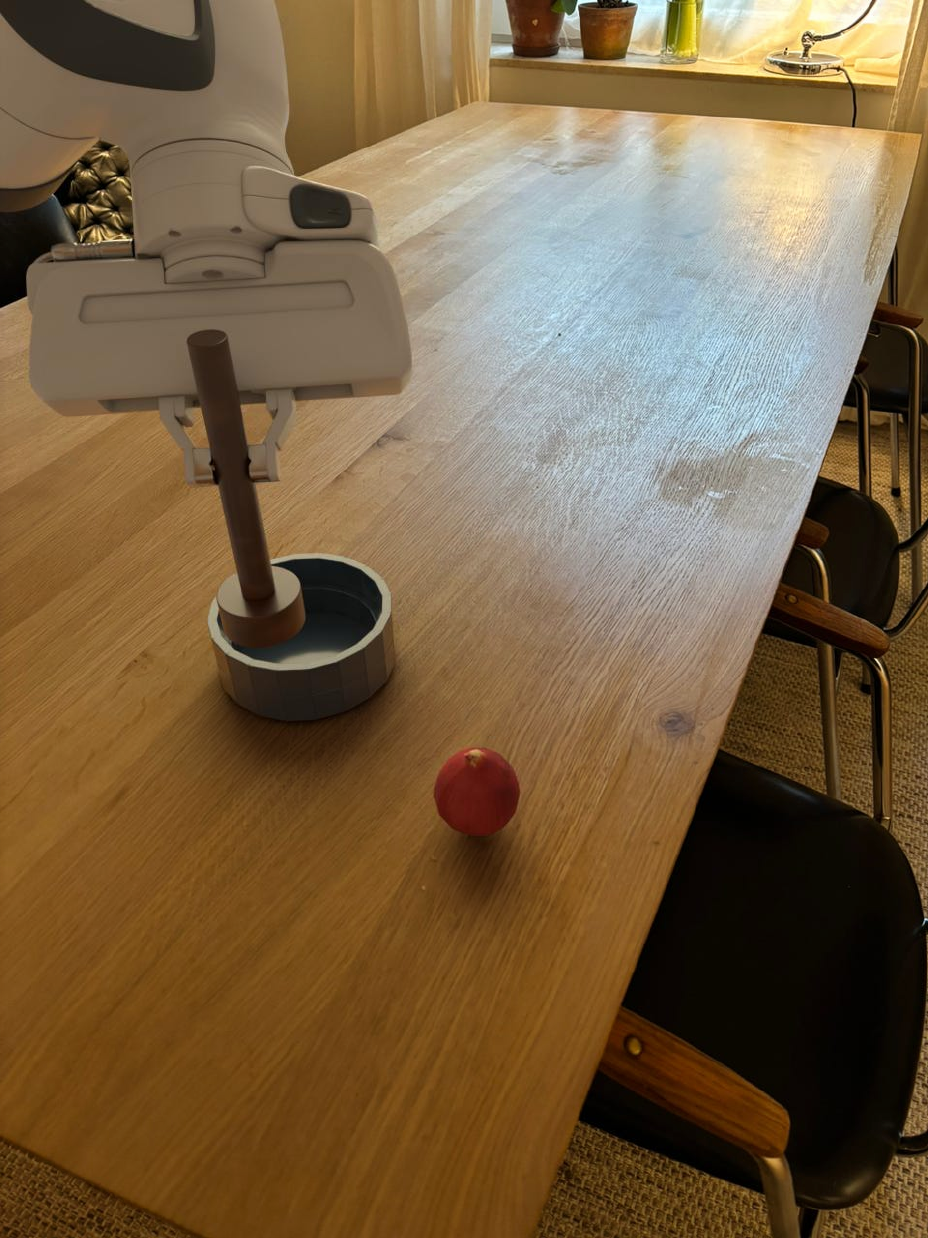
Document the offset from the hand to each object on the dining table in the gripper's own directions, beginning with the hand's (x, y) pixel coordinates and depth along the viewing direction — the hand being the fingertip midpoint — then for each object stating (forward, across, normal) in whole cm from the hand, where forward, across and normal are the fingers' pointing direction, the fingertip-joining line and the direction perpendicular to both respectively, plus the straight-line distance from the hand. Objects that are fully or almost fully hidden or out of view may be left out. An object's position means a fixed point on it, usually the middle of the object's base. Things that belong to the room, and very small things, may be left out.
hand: (234, 482), depth 53 cm
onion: (+22, +12, +18) cm, 31 cm away
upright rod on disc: (+7, 0, +8) cm, 10 cm away
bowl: (+9, 0, +30) cm, 32 cm away
